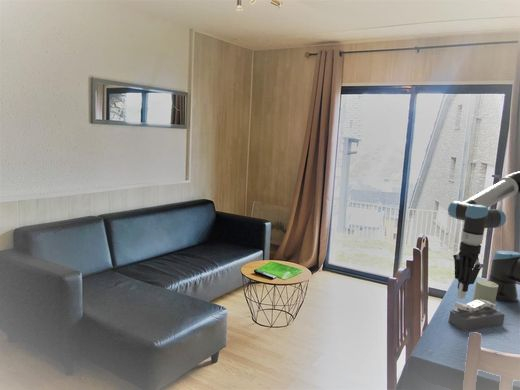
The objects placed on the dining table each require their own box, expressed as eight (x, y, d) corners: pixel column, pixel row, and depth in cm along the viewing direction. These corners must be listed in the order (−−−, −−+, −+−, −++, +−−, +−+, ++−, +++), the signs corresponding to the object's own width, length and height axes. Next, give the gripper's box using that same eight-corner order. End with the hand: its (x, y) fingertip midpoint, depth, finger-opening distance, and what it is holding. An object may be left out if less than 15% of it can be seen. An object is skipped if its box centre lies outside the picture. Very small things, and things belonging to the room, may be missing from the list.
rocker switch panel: (486, 316, 182) (488, 303, 181) (502, 325, 175) (505, 311, 174) (448, 321, 174) (450, 308, 173) (464, 331, 167) (466, 317, 166)
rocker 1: (463, 307, 175) (464, 303, 175) (471, 312, 171) (473, 308, 171) (453, 305, 173) (455, 301, 173) (462, 309, 169) (463, 306, 169)
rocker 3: (487, 304, 181) (488, 300, 181) (496, 309, 177) (497, 305, 177) (478, 302, 178) (479, 298, 178) (486, 306, 174) (488, 303, 174)
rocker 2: (476, 302, 178) (476, 299, 177) (485, 307, 174) (485, 303, 173) (466, 307, 176) (466, 303, 176) (474, 311, 172) (474, 308, 172)
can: (496, 312, 188) (501, 287, 186) (475, 309, 190) (479, 284, 188) (490, 304, 197) (494, 280, 195) (469, 300, 199) (473, 277, 196)
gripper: (451, 238, 171) (441, 292, 175) (477, 248, 159) (467, 305, 163) (464, 237, 174) (455, 290, 178) (491, 247, 162) (480, 303, 166)
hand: (460, 297), depth 170 cm, fingers closed
